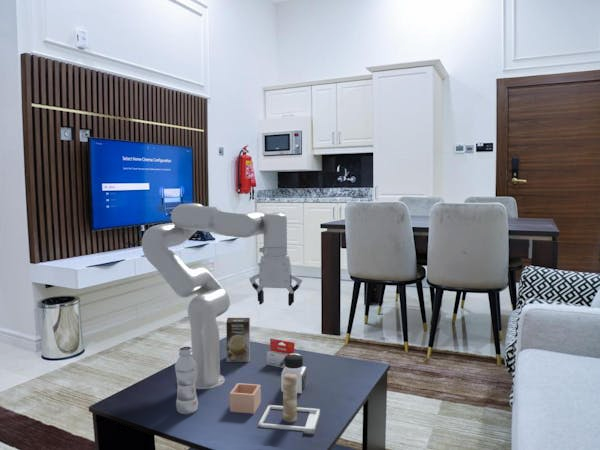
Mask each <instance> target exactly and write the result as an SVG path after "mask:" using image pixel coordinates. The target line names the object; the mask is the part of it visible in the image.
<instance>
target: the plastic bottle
mask: <svg viewBox="0 0 600 450" xmlns="http://www.w3.org/2000/svg"><path fill="white" fill-rule="evenodd" d="M178 356H179V357H178V358H177V360H176V361H175V364H174V370H175V377H176V383H177V384H176V385H177V386H176V387H177V390H176V391H177V393H176V395H177V396H176V400H175V408H176V411H177V413H179V414H180V415H191V414H193V413H195V412H196V411H197V410H198V408H199V400H198V395H197V389H196V387H195V380H196V368H197V364H196V361H195V360H194V358H193V357H192V346H181V347H179V352H178Z"/></svg>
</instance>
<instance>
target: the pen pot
mask: <svg viewBox="0 0 600 450" xmlns="http://www.w3.org/2000/svg"><path fill="white" fill-rule="evenodd" d="M261 388H262V387H261V384H256V383H255V384H254V383H243V382H237V383H236V384H235V386H234V387H233V388H232V389H231V391H230V392H229V412H230V413H241V414H243V413H244V414H252V415H253V414H256V412H257V410H258V408H259V407H260V404H261V403H262V397H261V396H262V392H261V391H262V389H261Z"/></svg>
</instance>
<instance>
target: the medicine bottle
mask: <svg viewBox="0 0 600 450" xmlns="http://www.w3.org/2000/svg"><path fill="white" fill-rule="evenodd" d="M285 374H295V375H296V376H297V394H303V393H304V391H305V388H306V386H307V367H306V366H304V357H303V355H301V354H299V353H294V354H289V355H286V356H285V368H283V369H282V371H281V373H280V375H281V376H280V377H281V379H280V381H281V382H280V383H281V384H280V385H281V386H280V388H281V389H280V390H281V391H280V392H282V393H283V375H285Z"/></svg>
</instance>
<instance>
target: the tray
mask: <svg viewBox="0 0 600 450" xmlns="http://www.w3.org/2000/svg"><path fill="white" fill-rule="evenodd" d="M271 410H282V411H283V405H273V404H268V405H267V407H266V408H265V411H264V413H263V415H262V416H261V418H260V420H259V422H258V424H257V425H258V427H259V428H267V429H269V428H270V429H280V430H291V431H301V432H302V434H306V435H307V434H308V435H315V432H316V430H317V425H318V423H319V420H320V416H321V408H313V407H301V406H300V407H298V406H297V412H305V413H306V412H309V413H308V416H307V420H306V423H305V426H299V425H288V424H287V425H286V424H275V423H264V422H265V420H266V418H267V416H268V414H269V413H270V411H271Z"/></svg>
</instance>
